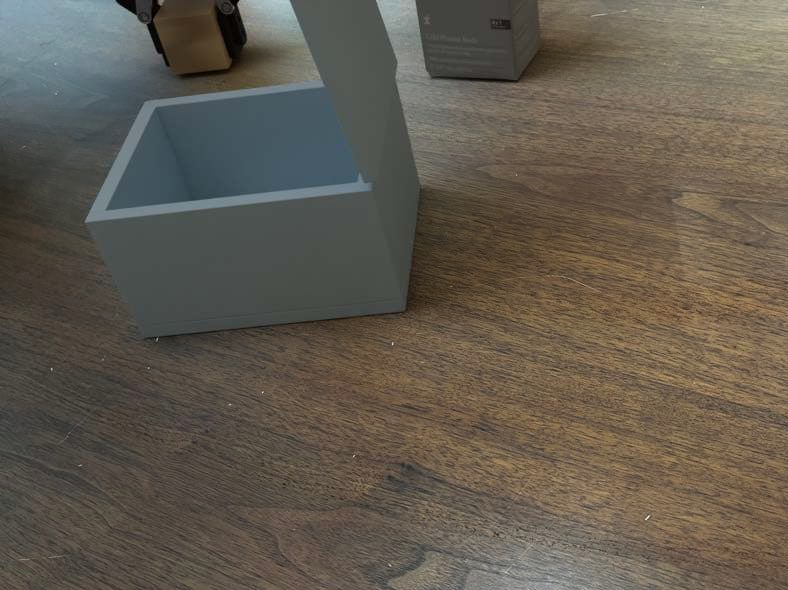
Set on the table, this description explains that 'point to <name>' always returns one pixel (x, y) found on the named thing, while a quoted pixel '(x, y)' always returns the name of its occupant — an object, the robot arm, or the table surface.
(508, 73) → the cosmetic box
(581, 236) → the table surface
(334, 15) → the lid
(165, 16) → the block
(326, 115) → the compartment
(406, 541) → the table surface
